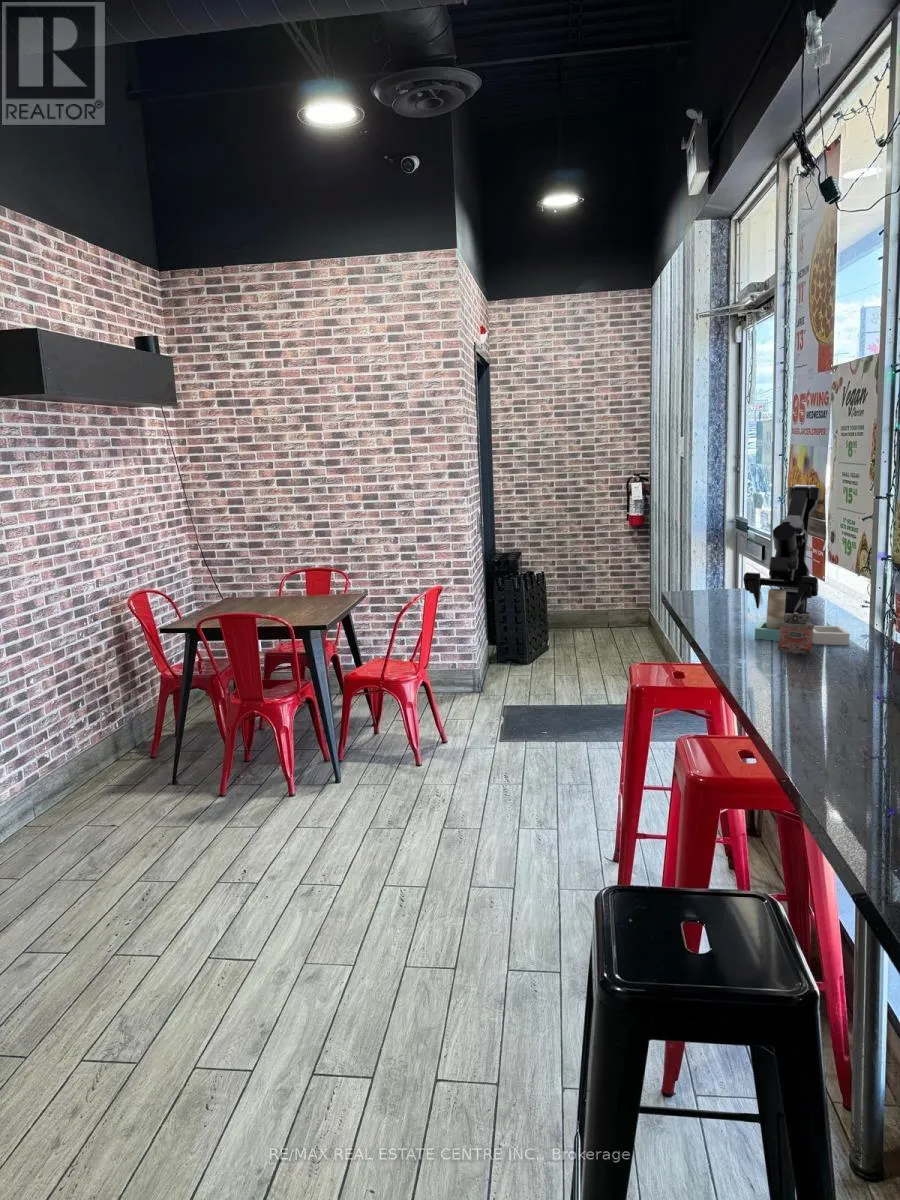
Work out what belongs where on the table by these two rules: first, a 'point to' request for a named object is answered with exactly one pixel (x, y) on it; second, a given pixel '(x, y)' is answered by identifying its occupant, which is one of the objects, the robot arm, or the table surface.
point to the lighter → (796, 634)
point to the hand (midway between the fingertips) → (775, 609)
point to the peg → (775, 608)
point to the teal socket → (766, 632)
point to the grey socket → (830, 635)
